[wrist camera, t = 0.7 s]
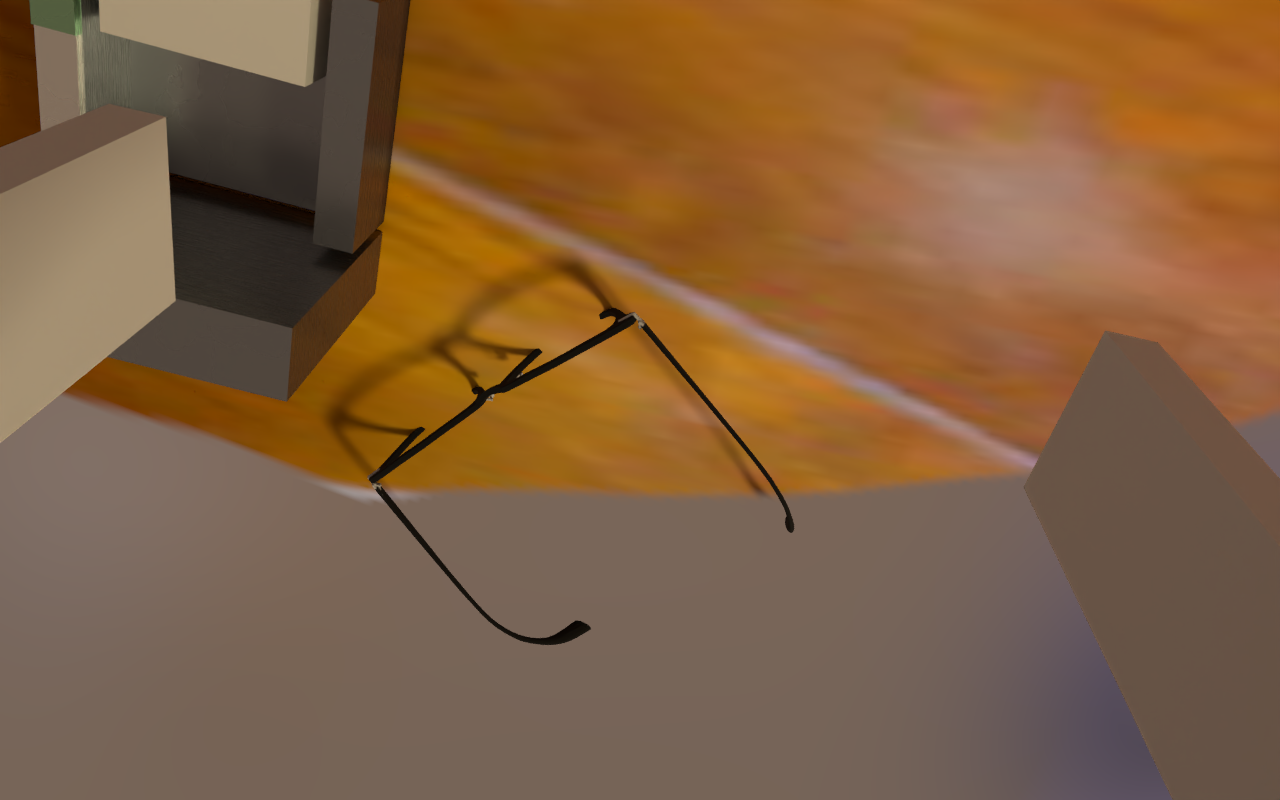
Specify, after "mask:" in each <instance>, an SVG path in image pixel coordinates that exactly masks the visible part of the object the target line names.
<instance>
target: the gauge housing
mask: <svg viewBox="0 0 1280 800" xmlns="http://www.w3.org/2000/svg"><path fill="white" fill-rule="evenodd" d="M29 1H30V15H31V24H34V35H35V49H36V64H37V79H38V93H39V108H40V122H41V131H42V130H45V129H47V128H50V127H52V126H55V125H57V124H60V123H62V122H65V121H67V120H70V119H72V118H75V117H77V116H80V115H82V114H85V113H87V112H90V111H92V110H95V109H97V108H100V107H102V106H105V105H107V104H112V105H116V106H120V107H125V108H129V109H134V110H138V111H142V112H147V113H151V114H156V115H160V116H164V117H166V128H167V147H168V166H169V172H170V173H173V174H177V175H181V176H185V177H189V178H192V179H196V180H200V181H204V182H208V183H211V184H215V185H219V186H223V187H227V188H230V189H234V190H238V191H242V192H246V193H249V194H253V195H257V196H261V197H265V198H268V199H272V200H276V201H280V202H284V203H287V204H291V205H295V206H299V207H303V208H306V209H310V210H314V211H315V214H312V213H308V212H304V211H301V210H297V209H293V208H289V207H285V206H282V205H278V204H274V203H270V202H266V201H263V200H259V199H255V198H251V197H247V196H244V195H240V194H236V193H232V192H228V191H225V190H221V189H217V188H213V187H209V186H206V185H202V184H198V183H194V182H190V181H187V180H183V179H179V178H175V177H171V176H169V185H170V203H171V222H172V241H173V260H174V279H175V298H176V301H175V302H174V303H172V304H171V305H170V306H169V307H167V308H166V309H165V310H164V311H162V312H161V313H160V314H159V315H158V316H156V317H155V318H154V319H153V320H151V321H150V322H149V323H148V324H146V325H145V326H144V327H143V328H141V329H140V330H139V331H138V332H137V333H135V334H134V335H133V336H132V337H130V338H129V339H128V340H127V341H125V342H124V343H123V344H122V345H120V346H119V347H118V348H117V349H116V350H114V351H113V352H112V353H111V354H109V355H108V356H107V357H111V358H115V359H119V360H123V361H127V362H131V363H135V364H139V365H143V366H147V367H151V368H155V369H159V370H163V371H167V372H171V373H175V374H179V375H183V376H187V377H191V378H195V379H199V380H203V381H207V382H211V383H215V384H219V385H223V386H227V387H231V388H235V389H239V390H243V391H247V392H251V393H255V394H259V395H263V396H267V397H271V398H275V399H279V400H283V401H288V400H289V398H290V397H291V396H292V395H293V394H294V392H295V391H296V390H297V389H298V387H299V386H300V385H301V384H302V382H303V381H304V380H305V379H306V378H307V376H308V375H309V374H310V373H311V371H312V370H313V369H314V368H315V366H316V365H317V364H318V363H319V362H320V360H321V359H322V358H323V357H324V355H325V354H326V353H327V352H328V351H329V349H330V348H331V347H332V346H333V344H334V343H335V342H336V341H337V339H338V338H339V337H340V336H341V335H342V333H343V332H344V331H345V330H346V328H347V327H348V326H349V325H350V323H351V322H352V321H353V320H354V319H355V317H356V316H357V315H358V314H359V312H360V311H361V310H362V309H363V308H364V306H365V305H366V304H367V303H368V301H369V300H370V299H371V298H372V296H373V295H374V294H375V289H376V281H377V272H378V264H379V256H380V247H381V239H382V232H380V231H377V230H376V229H377V228H378V227H379V226H380V225H381V224H382V223H383V221H384V214H385V206H386V198H387V189H388V181H389V173H390V164H391V156H392V148H393V139H394V131H395V123H396V114H397V106H398V98H399V89H400V81H401V73H402V65H403V56H404V48H405V40H406V31H407V23H408V15H409V6H410V0H332V12H331V24H330V37H329V49H328V61H327V73H326V76H325V77H323V78H321V79H320V80H318V81H316V82H314V83H312V84H310V85H308V86H306V87H303V86H300V85H296V84H292V83H288V82H285V81H281V80H277V79H274V78H270V77H266V76H263V75H259V74H255V73H252V72H248V71H244V70H241V69H237V68H233V67H230V66H226V65H222V64H218V63H215V62H211V61H207V60H204V59H200V58H196V57H193V56H189V55H185V54H182V53H178V52H174V51H171V50H167V49H163V48H160V47H156V46H152V45H148V44H145V43H141V42H137V41H134V40H130V39H126V38H123V37H119V36H115V35H112V34H108V33H104V32H101V31H100V14H99V0H29Z"/></svg>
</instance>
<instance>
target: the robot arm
mask: <svg viewBox="0 0 1280 800" xmlns="http://www.w3.org/2000/svg"><path fill="white" fill-rule="evenodd" d="M175 301H176V298H175V279H174V260H173V241H172V222H171V203H170V185H169V166H168V147H167V128H166V117H164V116H160V115H156V114H151V113H147V112H142V111H138V110H134V109H129V108H125V107H120V106H116V105H112V104H107V105H105V106H102V107H100V108H97V109H95V110H92V111H90V112H87V113H85V114H82V115H80V116H77V117H75V118H72V119H70V120H67V121H65V122H62V123H60V124H57V125H55V126H52V127H50V128H47V129H45V130H42V131H40V132H37V133H35V134H32V135H30V136H27V137H25V138H22V139H20V140H18V141H15V142H13V143H10V144H8V145H5V146H3V147H0V443H1V442H2V441H3V440H4V439H6V438H7V437H8V436H9V435H11V434H12V433H13V432H14V431H16V430H17V429H18V428H19V427H20V426H22V425H23V424H24V423H25V422H27V421H28V420H29V419H30V418H32V417H33V416H34V415H35V414H37V413H38V412H39V411H40V410H42V409H43V408H44V407H45V406H46V405H48V404H49V403H50V402H51V401H53V400H54V399H55V398H56V397H58V396H59V395H60V394H61V393H63V392H64V391H65V390H66V389H67V388H69V387H70V386H71V385H72V384H74V383H75V382H76V381H77V380H79V379H80V378H81V377H82V376H83V375H85V374H86V373H87V372H88V371H90V370H91V369H92V368H93V367H95V366H96V365H97V364H98V363H100V362H101V361H102V360H103V359H104V358H106V357H107V356H108V355H109V354H111V353H112V352H113V351H114V350H116V349H117V348H118V347H119V346H120V345H122V344H123V343H124V342H125V341H127V340H128V339H129V338H130V337H132V336H133V335H134V334H135V333H137V332H138V331H139V330H140V329H141V328H143V327H144V326H145V325H146V324H148V323H149V322H150V321H151V320H153V319H154V318H155V317H156V316H158V315H159V314H160V313H161V312H162V311H164V310H165V309H166V308H167V307H169V306H170V305H171V304H172V303H174V302H175ZM1024 489H1025V491H1026V493H1027V496H1028V498H1029V500H1030V502H1031V504H1032V506H1033V508H1034V510H1035V512H1036V514H1037V517H1038V519H1039V520H1040V522H1041V525H1042V527H1043V529H1044V531H1045V533H1046V535H1047V537H1048V540H1049V542H1050V544H1051V546H1052V548H1053V550H1054V552H1055V554H1056V556H1057V558H1058V561H1059V562H1060V565H1061V567H1062V569H1063V571H1064V573H1065V575H1066V577H1067V579H1068V581H1069V583H1070V586H1071V588H1072V590H1073V592H1074V594H1075V596H1076V598H1077V600H1078V602H1079V605H1080V606H1081V609H1082V611H1083V613H1084V615H1085V617H1086V619H1087V621H1088V623H1089V626H1090V628H1091V630H1092V632H1093V634H1094V636H1095V638H1096V640H1097V642H1098V644H1099V646H1100V649H1101V650H1102V653H1103V655H1104V657H1105V659H1106V661H1107V663H1108V665H1109V667H1110V669H1111V672H1112V674H1113V676H1114V678H1115V680H1116V682H1117V684H1118V686H1119V688H1120V690H1121V692H1122V695H1123V697H1124V699H1125V701H1126V703H1127V705H1128V707H1129V709H1130V711H1131V714H1132V715H1133V718H1134V720H1135V722H1136V724H1137V726H1138V728H1139V730H1140V732H1141V734H1142V737H1143V739H1144V741H1145V743H1146V745H1147V747H1148V749H1149V751H1150V753H1151V755H1152V757H1153V760H1154V762H1155V764H1156V766H1157V768H1158V770H1159V772H1160V774H1161V776H1162V778H1163V781H1164V783H1165V785H1166V787H1167V789H1168V791H1169V793H1170V795H1171V797H1172V799H1173V800H1280V478H1279V477H1278V476H1277V475H1276V474H1275V473H1274V472H1273V470H1272V469H1271V468H1270V467H1269V466H1268V465H1267V464H1266V463H1265V462H1264V460H1263V459H1262V458H1261V457H1260V456H1259V455H1258V454H1257V453H1256V451H1255V450H1254V449H1253V448H1252V447H1251V446H1250V445H1249V444H1248V443H1247V442H1246V440H1245V439H1244V438H1243V437H1242V436H1241V435H1240V434H1239V432H1238V431H1237V430H1236V429H1235V428H1234V427H1233V426H1232V425H1231V424H1230V422H1229V421H1228V420H1227V419H1226V418H1225V417H1224V416H1223V415H1222V414H1221V412H1220V411H1219V410H1218V409H1217V408H1216V407H1215V406H1214V405H1213V403H1212V402H1211V401H1210V400H1209V399H1208V398H1207V397H1206V396H1205V395H1204V393H1203V392H1202V391H1201V390H1200V389H1199V388H1198V387H1197V386H1196V385H1195V383H1194V382H1193V381H1192V380H1191V379H1190V378H1189V377H1188V376H1187V374H1186V373H1185V372H1184V371H1183V370H1182V369H1181V368H1180V367H1179V366H1178V364H1177V363H1176V362H1175V361H1174V360H1173V359H1172V358H1171V357H1170V355H1169V354H1168V353H1167V352H1166V351H1165V350H1164V349H1163V348H1162V347H1161V345H1160V344H1159V343H1158V342H1153V341H1149V340H1145V339H1140V338H1136V337H1131V336H1127V335H1123V334H1118V333H1114V332H1109V331H1105V332H1104V334H1103V336H1102V338H1101V340H1100V342H1099V344H1098V346H1097V347H1096V349H1095V351H1094V353H1093V355H1092V357H1091V359H1090V361H1089V363H1088V365H1087V367H1086V369H1085V371H1084V372H1083V374H1082V376H1081V378H1080V380H1079V382H1078V384H1077V386H1076V388H1075V390H1074V392H1073V394H1072V395H1071V397H1070V399H1069V401H1068V403H1067V405H1066V407H1065V409H1064V411H1063V413H1062V415H1061V417H1060V418H1059V420H1058V422H1057V424H1056V426H1055V428H1054V430H1053V432H1052V434H1051V436H1050V438H1049V440H1048V442H1047V443H1046V445H1045V447H1044V449H1043V451H1042V453H1041V455H1040V457H1039V459H1038V461H1037V463H1036V465H1035V466H1034V468H1033V470H1032V472H1031V474H1030V476H1029V478H1028V480H1027V482H1026V484H1025V486H1024Z"/></svg>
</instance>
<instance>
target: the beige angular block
mask: <svg viewBox="0 0 1280 800" xmlns="http://www.w3.org/2000/svg"><path fill="white" fill-rule="evenodd" d="M331 12H332V0H99V14H100V31H101V32H104V33H108V34H112V35H115V36H119V37H123V38H126V39H130V40H134V41H137V42H141V43H145V44H148V45H152V46H156V47H160V48H163V49H167V50H171V51H174V52H178V53H182V54H185V55H189V56H193V57H196V58H200V59H204V60H207V61H211V62H215V63H218V64H222V65H226V66H230V67H233V68H237V69H241V70H244V71H248V72H252V73H255V74H259V75H263V76H266V77H270V78H274V79H277V80H281V81H285V82H288V83H292V84H296V85H300V86H303V87H306V86H308V85H310V84H312V83H314V82H316V81H318V80H320V79H321V78H323V77H325V76H326V73H327V61H328V49H329V37H330V24H331Z"/></svg>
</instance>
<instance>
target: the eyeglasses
mask: <svg viewBox="0 0 1280 800" xmlns="http://www.w3.org/2000/svg"><path fill="white" fill-rule="evenodd" d="M599 316H600V319H604V318H606V317H609V316H614V317H616V319H615V322H614V323H613V325H612V326H610V327H609V328H608V329H606V330H605V331H603V332H601V333H600V334H598V335H596V336H594V337H592V338H591V339H589V340H587V341H585V342H583V343H581V344H580V345H578V346H576V347H574V348H573V349H571V350H569V351H567V352H566V353H564V354H562V355H560V356H558V357H556V358H555V359H553V360H551V361H549V362H547V363H545V364H543V365H541V366H539V367H537V368H535V369H533V370H531V371H529V372H527V373H525V374H523V373H522V371H523V370H524V369H525V368H526V367H527V366H528V365H529V364H530V363H531V362H532V361H533V360H534V359H535V358H537V357H538V356H539V355H540V354H541V353H542V351H541V350H540V349H536V350H534V351H533V352H532V353H530V354H529V355H528V356H527V357H526V358H525V359H524V360H523V361H522V362H521V363H520V364H519V365H518V366H516V367H515V368H514V369H513V370H512V371H511V373H510V374H509V375H508V376H507V377H506V378H505V379H504V380H503V381H502V382H501V383H500V384H498V385H496V386H493V387H491V388H489V389H488V390H486V391H485V390H484V389H483V388H482V387H475V388H474V389H472V392H473V393H474V394H478V396H477V398H476V400H475V401H474V402H473V403H472V404H471V405H470V406H469V407H467V408H466V409H465V410H463V411H462V412H461V413H459V414H458V415H457V416H455V417H454V418H453V419H451V420H450V421H448V422H447V423H446V424H444V425H443V426H441V427H440V428H439V429H437V430H436V431H435V432H433V433H432V434H430V435H429V436H428V437H426V438H425V439H424V440H422V441H421V442H419V443H418V444H417V445H415V446H414V447H412V448H411V449H409V450H408V451H406V452H405V453H404V454H402V453H403V451H404V450H405V449H406V448H407V447H408V446H409V445H410V444H411V443H412V442H413V441H414V440H415V439H416V438H417V436H419V435H420V434H421V433H422V432H423V431H424V430H425V428H423V427H419V428H417V429H416V430H415V431H413V432H412V433H411V434H410V435H409V436H408V437H407V438H406V439H405V440H404V442H403V443H402V444H401V445H400V446H399V447H398V448H397V449H396V450H395V451H394V452H393V453H392V454H391V456H390V457H389V458H388V459H387V460H386V461H385V462H384V463H383V464H382V465H381V466H380V467H379V468H378V469H377V470H376V471H374V472H373V473H372V474H370V475H369V476H368V479H369V481H370V482H371V483H372V486H373V488H374V489H375V490H376V491H377V493H378V494H379V495H380V496H381V497H382V499H383V500H384V501H385V502H386V503H387V505H388V506H389V507H390V508H391V509H392V511H393V512H394V513H395V514H396V515H397V517H398V518H399V519H400V520H401V521H402V523H404V525H405V526H406V527H407V529H408V530H409V531H410V532H411V533H412V535H413V536H414V537H415V538H416V539H417V540H418V542H419V543H420V544H421V545H422V546H423V548H424V549H425V550H426V551H427V552H428V553H429V555H430V556H431V557H432V558H433V559H434V561H435V562H436V563H437V564H438V565H439V566H440V568H441V569H442V570H443V571H444V572H445V574H446V575H447V576H448V577H449V578H450V579H451V581H452V582H453V583H454V584H455V585H456V587H457V588H458V589H459V590H460V591H461V592H462V593H463V594H464V596H465V597H466V598H467V599H468V600H469V601H470V602H471V603H472V604H473V605H474V607H475V608H476V609H477V610H478V611H479V612H480V613H481V614H482V615H483V616H484V617H485V618H486V619H487V620H488V621H489V622H490V623H492V624H493V625H494V626H495V627H497V628H498V629H500V630H501V631H503V632H504V633H506V634H508V635H510V636H512V637H514V638H516V639H518V640H520V641H523V642H528V643H533V644H541V645H556V644H561V643H565V642H568V641H571V640H573V639H575V638H577V637H578V636H580V635H582V634H584V633H585V632H587V631H589V630H591V627H590V626H589V625H588V624H586V623H584V622H582V621H578V620H576V621H574V622H573V623H571V624H570V625H569V626H567V627H566V628H565V629H563V630H562V631H560V632H558V633H557V634H555V635H553V636H550V637H547V638H530V637H525V636H521V635H518V634H516V633H513V632H511V631H510V630H507V629H506V628H504V627H503V626H501V625H500V624H498V623H497V622H495V621H494V620H493V619H492V618H491V617H490V616H489V615H487V614H486V613H485V612H484V611H483V610H482V609H481V607H480V606H479V605H478V604H477V603H476V602H475V601H474V600H473V599H472V597H471V596H470V595H469V594H468V593H467V592H466V590H465V589H464V588H463V587H462V586H461V584H460V583H459V582H458V581H457V580H456V578H455V577H454V576H453V575H452V574H451V572H449V570H448V569H447V568H446V566H445V565H444V564H443V563H442V561H441V560H440V559H439V558H438V557H437V555H436V554H435V553H434V551H433V550H432V549H431V548H430V546H429V545H428V544H427V543H426V541H425V540H424V539H423V538H422V536H421V535H420V534H419V533H418V532H417V530H416V529H415V528H414V527H413V525H412V524H411V523H410V522H409V520H408V519H407V518H406V517H405V516H404V514H403V513H402V512H401V510H400V509H399V508H398V507H397V505H396V504H395V503H394V502H393V500H392V499H391V498H390V497H389V495H388V494H387V493H386V492H385V490H384V489H383V488H382V487H381V483H377V481H378V480H380V479H381V478H383V477H384V476H385V475H387V474H388V473H390V472H391V471H392V470H394V469H395V468H397V467H398V466H399V465H401V464H402V463H404V462H405V461H406V460H408V459H409V458H411V457H412V456H414V455H415V454H417V453H418V452H419V451H421V450H422V449H424V448H425V447H426V446H428V445H429V444H431V443H432V442H433V441H435V440H436V439H437V438H439V437H440V436H441V435H443V434H444V433H446V432H447V431H448V430H450V429H451V428H453V427H454V426H456V425H457V424H458V423H460V422H461V421H463V420H464V419H465V418H467V417H468V416H469V415H471V414H472V413H473V412H475V411H476V410H477V409H479V408H480V407H481V406H482V405H483V404H484V403H485V401H486V400H491V401H493V397H494V394H496V393H505V392H507V391H509V390H511V389H513V388H516V387H517V386H519V385H521V384H523V383H525V382H527V381H529V380H531V379H533V378H535V377H537V376H539V375H541V374H543V373H545V372H547V371H549V370H551V369H553V368H555V367H557V366H558V365H560V364H562V363H564V362H566V361H568V360H569V359H571V358H573V357H575V356H577V355H579V354H580V353H582V352H584V351H586V350H588V349H590V348H592V347H594V346H595V345H597V344H599V343H601V342H603V341H605V340H606V339H608V338H610V337H612V336H614V335H615V334H617V333H619V332H621V331H622V330H624V329H626V328H628V327H630V326H631V325H633V324H634V323H635V321H636V320H638V323H639V326H638V328H639V329H641V328H643V330H644V331H645V332H646V333H647V334H648V336H649V337H650V338H651V339H652V340H653V341H654V343H655V344H656V345H657V346H658V347H659V349H660V350H661V351H662V352H663V353H664V354H665V356H666V357H667V358H668V359H669V360H670V362H671V363H672V364H673V365H674V366H675V368H676V369H677V370H678V371H679V372H680V373H681V375H682V376H683V377H684V378H685V379H686V381H687V382H688V383H689V384H690V385H691V386H692V388H693V389H694V390H695V391H696V392H697V394H698V395H699V396H700V397H701V398H702V399H703V401H704V402H705V403H706V404H707V405H708V407H709V408H710V409H711V410H712V411H713V413H714V414H715V415H716V416H717V418H718V419H719V420H720V421H721V422H722V424H723V425H724V426H725V427H726V428H727V430H728V431H729V432H730V433H731V434H732V436H733V437H734V438H735V439H736V440H737V442H738V443H739V444H740V445H741V446H742V448H743V449H744V450H745V451H746V453H747V454H748V455H749V456H750V457H751V459H752V460H753V461H754V462H755V464H756V465H757V466H758V468H759V469H760V470H761V472H762V473H763V475H764V476H765V477H766V479H767V480H768V481H769V483H770V484H771V486H772V487H773V489H774V491H775V492H776V494H777V496H778V497H779V499H780V501H781V503H782V505H783V507H784V509H785V512H786V515H787V516H786V518H785V525H786V528H787V530H788V531H789V532H790V533H792V532H793V530H794V523H793V519H792V516H791V513H790V510H789V508H788V506H787V503H786V501H785V500H784V498H783V496H782V494H781V493H780V491H779V489H778V488H777V486H776V485H775V483H774V481H773V480H772V478H771V477H770V476H769V474H768V473H767V471H766V470H765V469H764V467H763V466H762V465H761V463H760V462H759V461H758V460H757V458H756V457H755V456H754V455H753V453H752V452H751V451H750V450H749V448H748V447H747V446H746V445H745V443H744V442H743V441H742V440H741V438H740V437H739V436H738V435H737V434H736V432H735V431H734V430H733V429H732V427H731V426H730V425H729V424H728V423H727V421H726V420H725V419H724V418H723V417H722V415H721V414H720V413H719V412H718V410H717V409H716V408H715V407H714V406H713V404H712V403H711V402H710V401H709V400H708V398H707V397H706V396H705V395H704V393H703V392H702V391H701V390H700V389H699V387H698V386H697V385H696V384H695V383H694V381H693V380H692V379H691V378H690V376H689V375H688V374H687V373H686V372H685V370H684V369H683V368H682V367H681V365H680V364H679V363H678V362H677V361H676V359H675V358H674V357H673V356H672V355H671V353H670V352H669V351H668V350H667V348H666V347H665V346H664V345H663V344H662V342H661V341H660V340H659V339H658V338H657V336H656V335H655V334H654V333H653V331H652V330H651V329H650V328H649V327H648V325H647V324H646V323H645V322H644V320H642V319H641V318H640V317H639V316H638V315H637V314H636V313H635V312H632V313H629V314H624V313H623V312H621V311H620V310H618V309H616V308H610V309H608V310H606V311H604V312H602V313H601V314H600V315H599ZM488 397H490V398H488ZM401 454H402V455H401ZM400 455H401V456H400Z"/></svg>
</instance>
